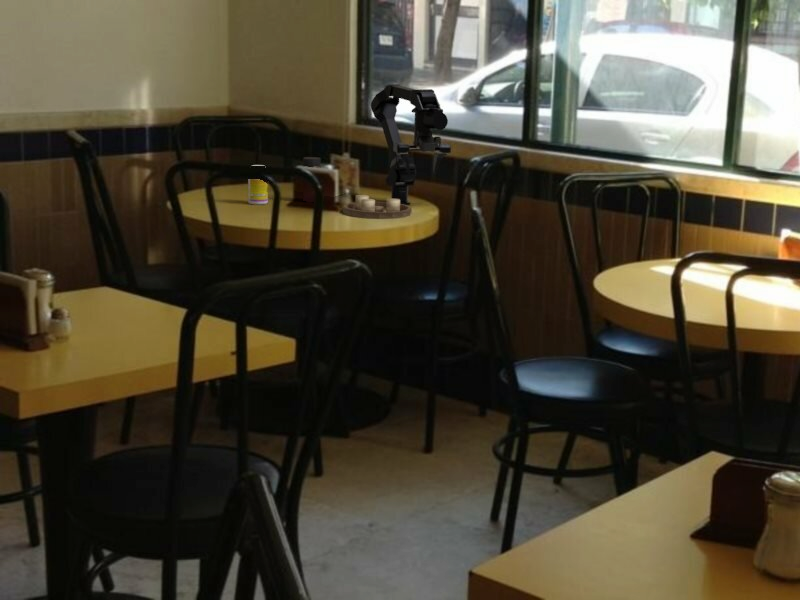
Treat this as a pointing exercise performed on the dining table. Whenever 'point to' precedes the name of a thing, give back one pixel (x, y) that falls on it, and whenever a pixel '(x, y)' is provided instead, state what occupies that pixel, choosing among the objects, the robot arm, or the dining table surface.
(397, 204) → the bead
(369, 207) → the bead
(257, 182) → the supplement bottle
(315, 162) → the deodorant
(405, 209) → the tray
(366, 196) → the loose bead
